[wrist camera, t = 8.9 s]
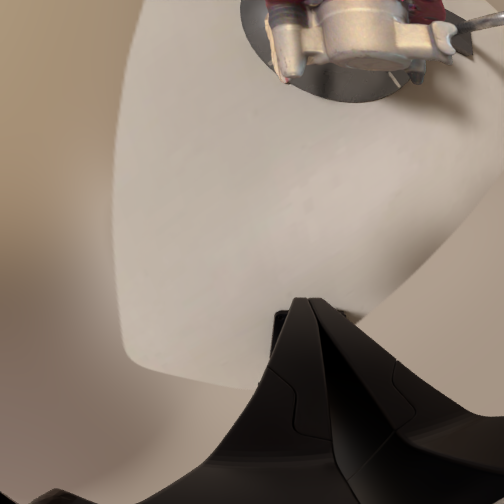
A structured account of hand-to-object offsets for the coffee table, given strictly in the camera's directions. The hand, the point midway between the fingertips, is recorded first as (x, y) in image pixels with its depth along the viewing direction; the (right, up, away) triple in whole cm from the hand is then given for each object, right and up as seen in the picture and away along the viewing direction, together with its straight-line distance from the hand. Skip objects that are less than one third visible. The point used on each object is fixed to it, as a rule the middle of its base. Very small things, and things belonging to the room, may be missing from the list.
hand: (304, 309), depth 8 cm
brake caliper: (+5, +18, +6) cm, 19 cm away
